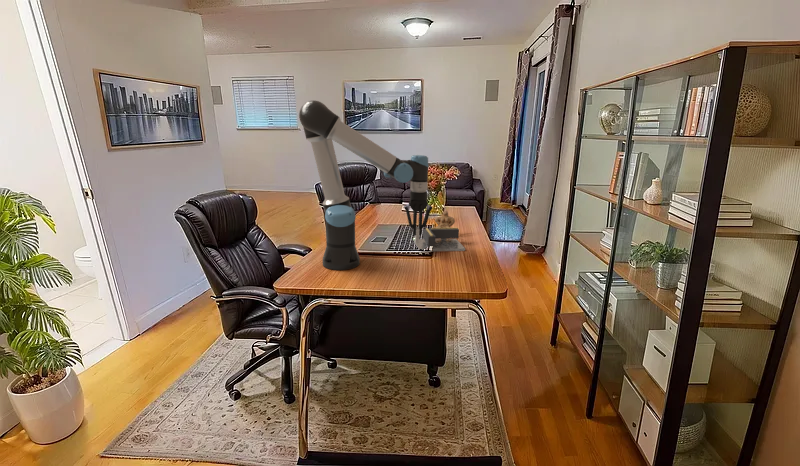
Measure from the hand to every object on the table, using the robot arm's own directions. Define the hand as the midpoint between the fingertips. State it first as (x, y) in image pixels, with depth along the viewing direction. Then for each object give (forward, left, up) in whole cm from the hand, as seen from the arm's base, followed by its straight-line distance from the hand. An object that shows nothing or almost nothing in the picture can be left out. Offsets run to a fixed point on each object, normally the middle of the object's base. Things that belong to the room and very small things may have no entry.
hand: (416, 241), depth 172 cm
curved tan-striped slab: (+16, +12, -3) cm, 20 cm away
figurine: (+19, +26, -5) cm, 33 cm away
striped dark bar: (+7, +6, -3) cm, 10 cm away
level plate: (+12, +7, -5) cm, 15 cm away
